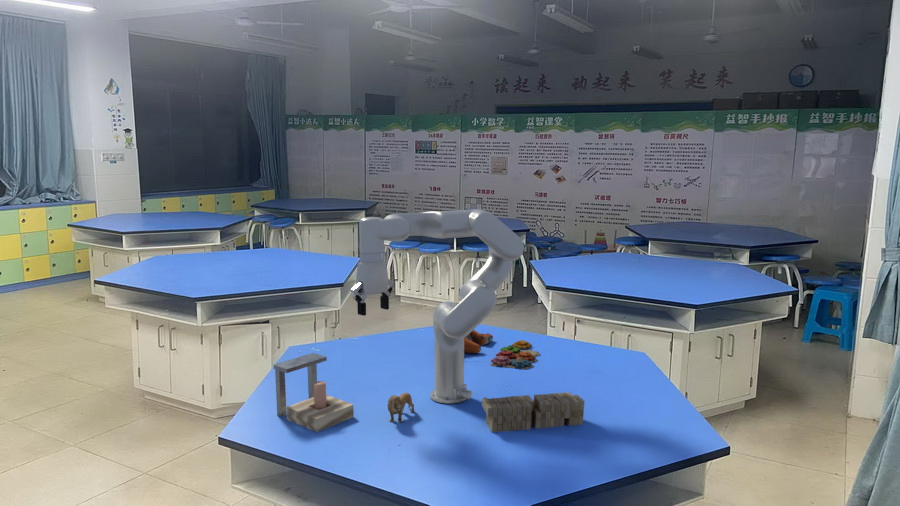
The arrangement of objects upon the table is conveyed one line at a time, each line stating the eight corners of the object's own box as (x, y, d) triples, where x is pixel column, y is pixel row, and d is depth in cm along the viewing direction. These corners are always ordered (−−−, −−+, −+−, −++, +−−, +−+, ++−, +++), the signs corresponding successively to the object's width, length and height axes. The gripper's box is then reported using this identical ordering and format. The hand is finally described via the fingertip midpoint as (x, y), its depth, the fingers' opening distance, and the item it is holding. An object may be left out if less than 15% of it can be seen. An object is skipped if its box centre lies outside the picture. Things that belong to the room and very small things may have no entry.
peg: (329, 417, 195) (328, 383, 194) (319, 421, 193) (318, 386, 191) (321, 414, 198) (320, 380, 196) (312, 418, 195) (311, 383, 193)
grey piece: (328, 406, 204) (326, 356, 202) (288, 421, 193) (286, 369, 190) (315, 401, 208) (313, 352, 206) (275, 415, 197) (273, 364, 194)
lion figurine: (401, 428, 188) (400, 399, 187) (384, 426, 189) (383, 397, 188) (417, 409, 202) (416, 381, 201) (400, 407, 203) (400, 380, 202)
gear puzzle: (507, 344, 271) (507, 334, 271) (545, 347, 267) (545, 338, 266) (488, 367, 242) (488, 356, 242) (531, 371, 237) (531, 361, 237)
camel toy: (439, 353, 253) (482, 362, 250) (445, 320, 254) (489, 328, 251) (450, 350, 278) (489, 358, 274) (455, 319, 278) (495, 327, 275)
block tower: (573, 417, 198) (480, 422, 192) (574, 391, 197) (481, 395, 191) (583, 428, 190) (487, 433, 185) (584, 401, 189) (488, 405, 183)
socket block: (353, 417, 196) (353, 404, 195) (316, 432, 185) (316, 419, 185) (323, 405, 205) (323, 393, 204) (287, 419, 194) (286, 406, 194)
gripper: (384, 252, 207) (384, 304, 210) (342, 259, 194) (344, 315, 197) (400, 255, 202) (401, 308, 205) (359, 262, 189) (361, 319, 192)
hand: (373, 311), depth 201 cm, fingers open, 9 cm apart
